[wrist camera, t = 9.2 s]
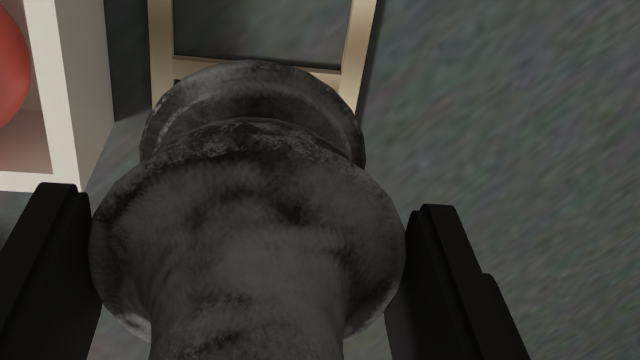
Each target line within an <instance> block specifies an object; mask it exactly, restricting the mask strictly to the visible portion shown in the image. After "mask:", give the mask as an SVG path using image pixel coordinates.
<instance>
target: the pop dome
mask: <svg viewBox="0 0 640 360" xmlns="http://www.w3.org/2000/svg"><path fill="white" fill-rule="evenodd" d="M30 81H31V58H30V53H29V49H28V46H27V43H26V40H25V38H24V35H23V33H22V31H21V30H20V28H19V26H18V24H17V23H16V22H15V20H14V19H13V17H12V16H11V15H10V14H9V13H8V11H7V10H6V9H5V8H4V7H3V6H2V5H1V4H0V129H1V128H2V127H3V126H5V125H6V124H7V123H8V122H9V121H10V120H11V119H12V118H13V117H14V116H15V114H16V113H17V112H18V110H19V109H20V107H21V106H22V104H23V102H24V100H25V98H26V96H27V93H28V90H29V86H30Z"/></svg>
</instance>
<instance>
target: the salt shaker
mask: <svg viewBox="0 0 640 360" xmlns="http://www.w3.org/2000/svg"><path fill="white" fill-rule="evenodd" d="M139 151H140V163H139V164H138V165H137V166H135V167H134V168H133V169H132V170H130V171H129V172H128V173H126V174H125V175H124V176H123V177H121V178H120V179H119V180H118V181H116V182H115V183H114V184H113V186H112V187H111V189H110V190H109V192H108V193H107V195H106V196H105V198H104V199H103V201H102V202H101V204H100V205H99V207H98V208H97V210H96V211H95V213H94V215H93V217H92V222H91V226H90V231H89V235H88V240H87V252H88V259H89V265H90V272H91V278H92V283H93V285H94V287H95V289H96V291H97V293H98V295H99V296H100V298H101V300H102V302H103V304H104V305H105V307H106V308H107V309H108V310H109V311H110V312H111V313H112V314H113V315H114V316H115V317H116V318H117V319H118V320H119V321H120V322H121V323H122V324H123V325H124V326H125V327H126V328H127V329H128V330H129V331H130V332H131V333H133V334H134V335H136V336H138V337H139V338H141V339H143V340H144V341H146V342H148V343H149V344H151V350H150V355H149V360H344V356H343V344H344V343H346V342H348V341H350V340H352V339H353V338H355V337H357V336H358V335H359V334H360V333H361V332H363V331H364V330H365V329H366V328H367V327H368V326H370V325H371V324H372V323H373V322H374V321H375V320H377V319H378V318H379V317H380V316H381V315H382V314H383V312H384V311H385V309H386V308H387V306H388V305H389V303H390V302H391V300H392V299H393V297H394V296H395V294H396V293H397V290H398V287H399V284H400V280H401V277H402V274H403V270H404V267H405V263H406V257H407V251H406V234H405V229H404V226H403V224H402V222H401V220H400V217H399V215H398V213H397V211H396V208H395V206H394V204H393V202H392V199H391V198H390V197H389V196H388V195H387V193H386V192H385V191H384V190H383V189H382V188H381V187H380V186H379V185H378V184H377V183H376V181H375V180H374V179H373V178H372V177H371V176H370V175H369V174H368V173H367V172H366V171H365V170H364V169H365V164H366V155H365V145H364V136H363V133H362V131H361V129H360V126H359V124H358V122H357V120H356V117H355V115H354V113H353V111H352V109H351V108H350V107H349V106H348V105H347V103H346V102H345V101H344V100H343V99H342V98H341V97H340V95H339V94H338V93H337V92H336V91H335V90H334V89H333V88H332V87H330V86H329V85H327V84H326V83H324V82H323V81H321V80H320V79H318V78H317V77H315V76H314V75H312V74H311V73H309V72H306V71H303V70H300V69H297V68H294V67H292V66H289V65H286V64H283V63H280V62H272V61H260V60H249V59H244V60H238V61H231V62H225V63H219V64H213V65H211V66H208V67H206V68H204V69H202V70H199V71H197V72H195V73H193V74H190V75H188V76H186V77H184V78H183V79H181V80H180V81H179V82H178V83H177V84H175V85H174V86H173V87H172V88H171V89H169V90H168V91H167V92H166V93H164V94H163V95H162V96H161V98H160V99H159V101H158V102H157V104H156V105H155V107H154V108H153V110H152V111H151V113H150V114H149V116H148V117H147V119H146V122H145V126H144V130H143V134H142V138H141V141H140V145H139Z"/></svg>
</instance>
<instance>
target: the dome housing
mask: <svg viewBox="0 0 640 360" xmlns="http://www.w3.org/2000/svg"><path fill="white" fill-rule="evenodd" d="M0 4H1V5H2V6H3V7H4V8H5V9H6V10H7V11H8V13H9V14H10V15H11V16H12V17H13V19H14V20H15V22H16V23H17V24H18V26H19V28H20V30H21V31H22V33H23V35H24V38H25V40H26V43H27V46H28V49H29V53H30V58H31V81H30V86H29V90H28V93H27V96H26V98H25V100H24V102H23V104H22V106H21V107H20V109H19V110H18V112H17V113H16V114H15V116H14V117H13V118H12V119H11V120H10V121H9V122H8V123H7V124H6V125H5V126H3V127H2V128H1V129H0V190H1V191H18V192H34V191H35V189H36V187H37V186H38V185H39V183H41V182H52V183H70V184H75V185H76V186H77V188H78V192H84V190H85V188H86V185H87V183H88V181H89V179H90V176H91V174H92V172H93V170H94V168H95V165H96V163H97V161H98V159H99V156H100V154H101V152H102V150H103V148H104V145H105V143H106V141H107V139H108V136H109V134H110V132H111V130H112V127H113V125H114V112H113V101H112V91H111V80H110V69H109V58H108V47H107V36H106V25H105V14H104V3H103V0H0Z"/></svg>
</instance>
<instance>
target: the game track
mask: <svg viewBox="0 0 640 360" xmlns="http://www.w3.org/2000/svg"><path fill="white" fill-rule="evenodd" d="M376 1H377V0H352V5H351V11H350V17H349V23H348V29H347V35H346V41H345V47H344V53H343V59H342V65H341V71H338V70H328V69H317V68H307V67H296V66H292V67H294V68H297V69H300V70H303V71H306V72H309V73H311V74H312V75H314V76H315V77H317V78H318V79H320V80H321V81H323V82H324V83H326V84H327V85H329V86H330V87H332V88H333V89H334V90H335V91H336V92H337V93H338V94H339V95H340V97H341V98H342V99H343V100H344V101H345V102H346V103H347V105H348V106H349V107H350V108H351V109H352V111H353V113H354V115H355V109H356V104H357V99H358V94H359V89H360V84H361V78H362V73H363V68H364V63H365V58H366V53H367V47H368V42H369V37H370V32H371V27H372V21H373V16H374V11H375V6H376ZM148 22H149V44H150V66H151V88H152V110H153V108H154V107H155V105H156V104H157V102H158V101H159V99H160V98H161V96H162V95H163V94H164V93H166V92H167V91H168V90H169V89H171V88H172V87H173V86H174V79H180V80H181V79H183V78H184V77H186V76H188V75H190V74H193V73H195V72H197V71H199V70H202V69H204V68H206V67H208V66H211V65H213V64H219V63H225V62H231V61H233V60H222V59H212V58H201V57H191V56H180V55H174V41H173V0H148Z"/></svg>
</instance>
